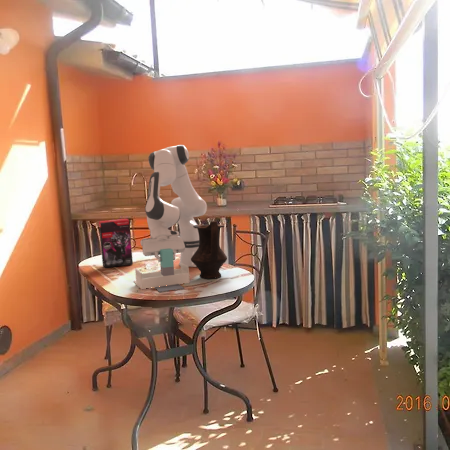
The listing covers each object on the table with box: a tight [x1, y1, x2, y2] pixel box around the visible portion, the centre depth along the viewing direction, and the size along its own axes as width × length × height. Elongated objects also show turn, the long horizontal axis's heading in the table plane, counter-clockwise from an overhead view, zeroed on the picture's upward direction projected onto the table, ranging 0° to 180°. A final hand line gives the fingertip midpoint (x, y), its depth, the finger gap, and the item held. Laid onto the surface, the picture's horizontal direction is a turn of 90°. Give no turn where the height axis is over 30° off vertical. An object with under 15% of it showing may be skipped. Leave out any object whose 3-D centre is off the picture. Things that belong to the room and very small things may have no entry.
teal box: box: [159, 248, 175, 276], centre depth 237 cm, size 5×5×12 cm
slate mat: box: [153, 284, 185, 293], centre depth 238 cm, size 12×9×1 cm
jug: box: [191, 220, 228, 280], centre depth 255 cm, size 21×18×30 cm
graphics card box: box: [98, 218, 134, 269], centre depth 295 cm, size 17×7×27 cm, turn 116°
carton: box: [133, 262, 190, 290], centre depth 251 cm, size 24×18×8 cm
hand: (167, 260), depth 236 cm, fingers closed on teal box, 5 cm apart
